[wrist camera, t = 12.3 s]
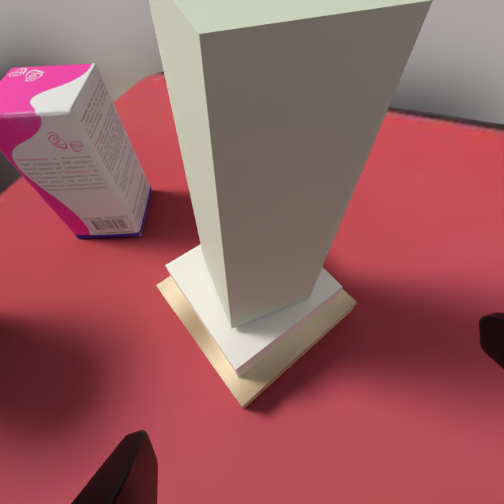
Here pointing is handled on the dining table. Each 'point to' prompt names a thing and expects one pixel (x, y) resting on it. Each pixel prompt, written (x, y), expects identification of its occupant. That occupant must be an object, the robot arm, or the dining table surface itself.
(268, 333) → the tower top slab
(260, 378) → the tower base slab
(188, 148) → the tall block
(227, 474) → the dining table surface
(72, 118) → the supplement box
